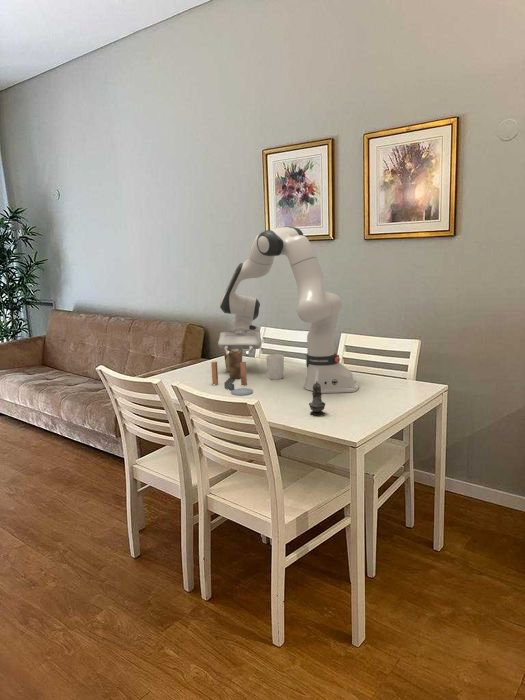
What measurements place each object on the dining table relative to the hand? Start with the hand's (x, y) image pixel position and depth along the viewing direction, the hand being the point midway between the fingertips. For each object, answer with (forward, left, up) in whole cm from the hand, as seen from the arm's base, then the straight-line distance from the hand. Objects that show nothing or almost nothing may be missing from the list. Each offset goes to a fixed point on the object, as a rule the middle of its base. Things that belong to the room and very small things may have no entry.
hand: (237, 355), depth 240 cm
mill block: (0, +4, -10) cm, 10 cm away
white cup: (-18, +2, -10) cm, 21 cm away
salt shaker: (-42, +50, -10) cm, 66 cm away
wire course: (0, +16, -10) cm, 19 cm away
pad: (-9, +27, -10) cm, 30 cm away
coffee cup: (+5, -11, -10) cm, 15 cm away
